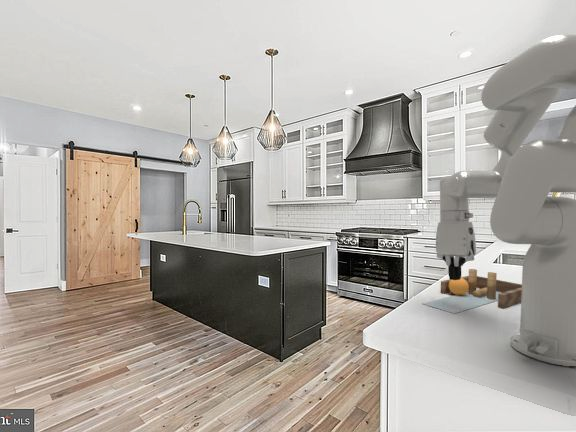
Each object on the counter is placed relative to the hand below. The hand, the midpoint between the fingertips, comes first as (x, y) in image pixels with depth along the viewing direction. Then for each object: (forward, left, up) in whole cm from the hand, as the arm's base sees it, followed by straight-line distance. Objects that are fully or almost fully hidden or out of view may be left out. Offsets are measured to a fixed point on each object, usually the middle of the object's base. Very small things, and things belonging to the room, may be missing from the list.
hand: (454, 279), depth 93 cm
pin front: (+16, +2, -7) cm, 17 cm away
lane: (+12, +1, -8) cm, 14 cm away
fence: (+21, +1, -8) cm, 23 cm away
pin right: (+19, -2, -8) cm, 20 cm away
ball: (+14, +6, -5) cm, 16 cm away
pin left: (+19, +4, -8) cm, 21 cm away
